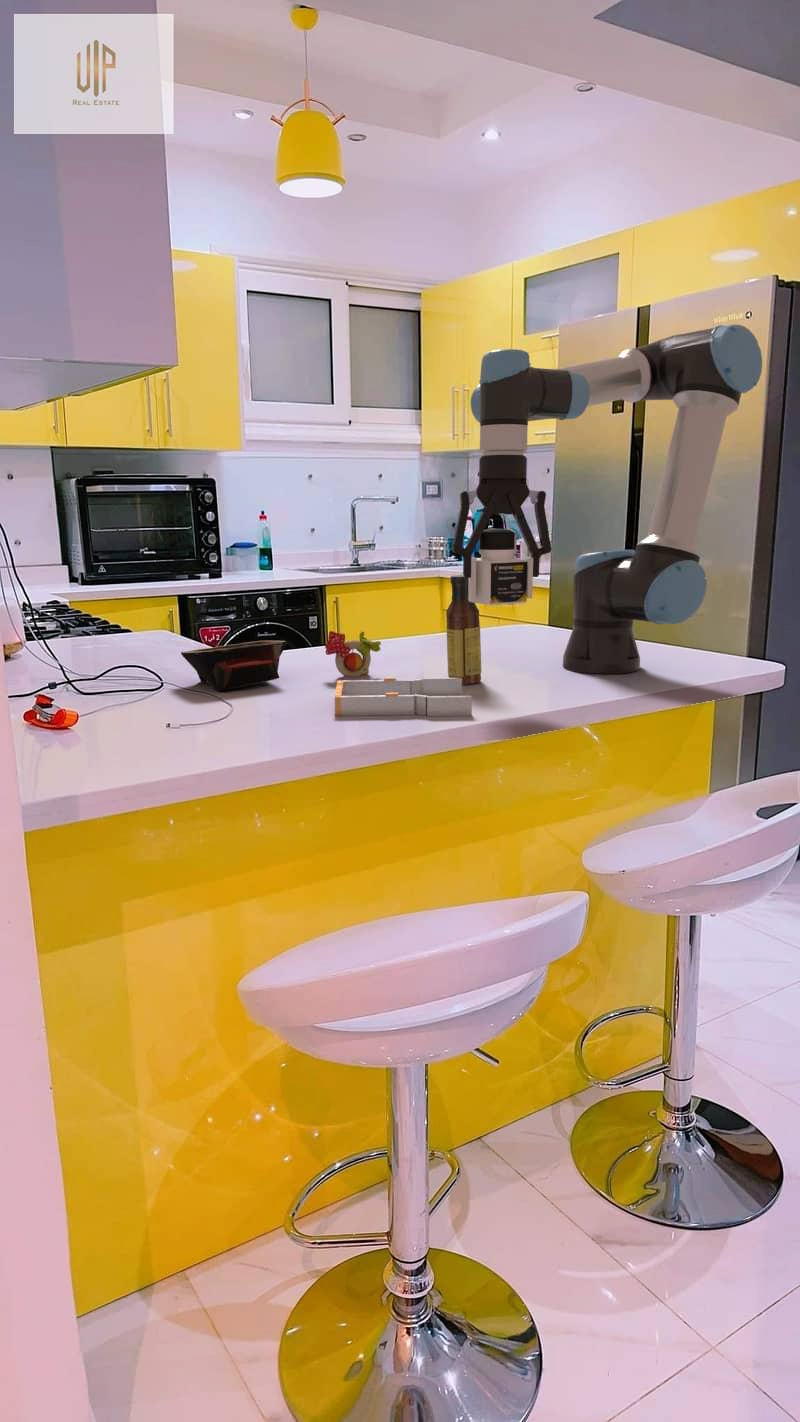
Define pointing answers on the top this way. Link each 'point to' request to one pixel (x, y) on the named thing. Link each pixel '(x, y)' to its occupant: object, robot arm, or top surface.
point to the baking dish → (237, 663)
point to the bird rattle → (351, 661)
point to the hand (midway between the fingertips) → (500, 597)
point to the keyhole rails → (402, 697)
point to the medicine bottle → (499, 570)
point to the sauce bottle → (463, 634)
